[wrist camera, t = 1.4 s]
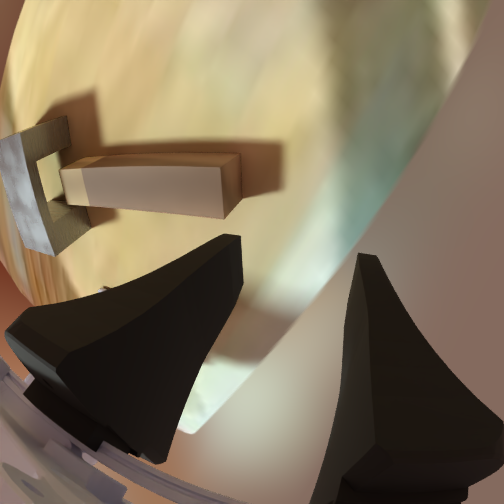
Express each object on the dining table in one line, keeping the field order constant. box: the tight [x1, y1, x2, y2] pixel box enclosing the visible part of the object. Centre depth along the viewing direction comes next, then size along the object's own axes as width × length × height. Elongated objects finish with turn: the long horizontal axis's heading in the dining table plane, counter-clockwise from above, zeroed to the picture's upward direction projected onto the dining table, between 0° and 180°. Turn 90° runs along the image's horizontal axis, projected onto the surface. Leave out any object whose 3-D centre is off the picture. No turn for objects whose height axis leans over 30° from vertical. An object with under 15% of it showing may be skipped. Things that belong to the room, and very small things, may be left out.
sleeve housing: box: [0, 116, 91, 257], centre depth 21 cm, size 11×6×5 cm, turn 2°
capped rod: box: [59, 152, 242, 219], centre depth 19 cm, size 3×14×3 cm, turn 92°
